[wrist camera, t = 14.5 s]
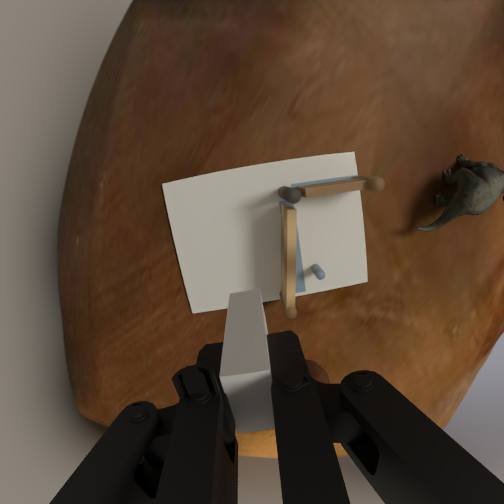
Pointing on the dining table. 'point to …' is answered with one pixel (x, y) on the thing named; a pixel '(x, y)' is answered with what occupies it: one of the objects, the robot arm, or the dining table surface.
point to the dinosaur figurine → (469, 191)
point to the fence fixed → (331, 188)
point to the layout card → (265, 230)
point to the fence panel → (288, 259)
